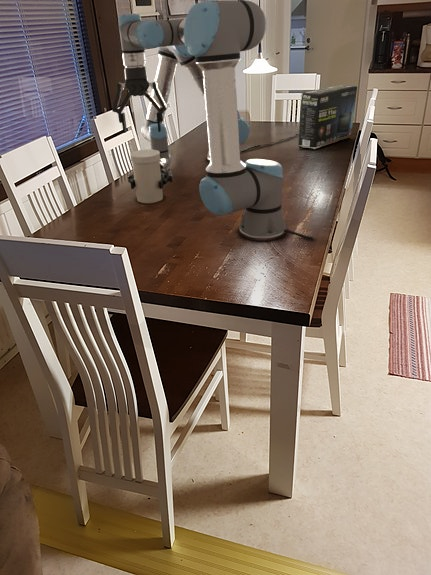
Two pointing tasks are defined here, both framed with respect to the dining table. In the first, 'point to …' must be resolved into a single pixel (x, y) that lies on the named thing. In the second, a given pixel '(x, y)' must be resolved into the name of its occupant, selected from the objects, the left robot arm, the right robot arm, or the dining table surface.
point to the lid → (145, 156)
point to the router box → (326, 115)
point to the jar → (147, 182)
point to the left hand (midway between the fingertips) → (146, 185)
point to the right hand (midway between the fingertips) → (142, 131)
